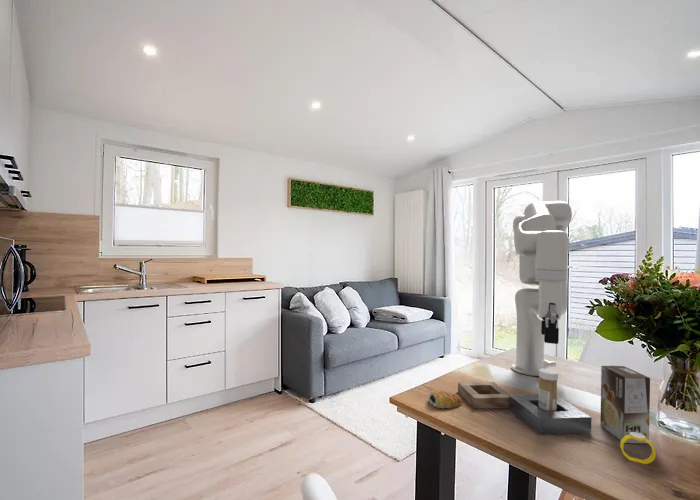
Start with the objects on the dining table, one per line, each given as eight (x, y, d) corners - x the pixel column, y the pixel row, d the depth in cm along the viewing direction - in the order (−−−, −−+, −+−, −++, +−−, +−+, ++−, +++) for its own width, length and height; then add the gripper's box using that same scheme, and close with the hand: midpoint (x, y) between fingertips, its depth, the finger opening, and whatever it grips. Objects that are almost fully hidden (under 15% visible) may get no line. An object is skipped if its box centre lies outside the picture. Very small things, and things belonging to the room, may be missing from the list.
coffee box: (650, 444, 86) (652, 378, 86) (623, 443, 86) (625, 377, 86) (622, 425, 95) (624, 365, 95) (598, 424, 95) (599, 364, 95)
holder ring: (493, 390, 116) (493, 381, 116) (513, 407, 104) (514, 397, 104) (457, 391, 115) (458, 382, 115) (474, 408, 103) (474, 398, 103)
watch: (622, 462, 79) (621, 434, 79) (620, 455, 81) (618, 429, 82) (657, 468, 76) (655, 440, 76) (653, 461, 79) (651, 434, 79)
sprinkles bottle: (560, 423, 95) (561, 373, 95) (544, 423, 95) (545, 373, 95) (549, 415, 100) (551, 367, 100) (534, 415, 100) (535, 367, 99)
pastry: (454, 398, 110) (454, 386, 110) (466, 408, 104) (466, 395, 104) (426, 401, 108) (426, 388, 108) (436, 411, 102) (437, 397, 102)
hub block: (554, 408, 105) (554, 394, 105) (591, 432, 91) (591, 417, 91) (509, 409, 103) (509, 395, 103) (539, 434, 89) (539, 418, 89)
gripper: (533, 273, 106) (532, 330, 106) (537, 277, 91) (535, 344, 91) (562, 274, 103) (561, 333, 103) (572, 279, 87) (570, 348, 88)
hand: (549, 338), depth 97 cm, fingers open, 9 cm apart
